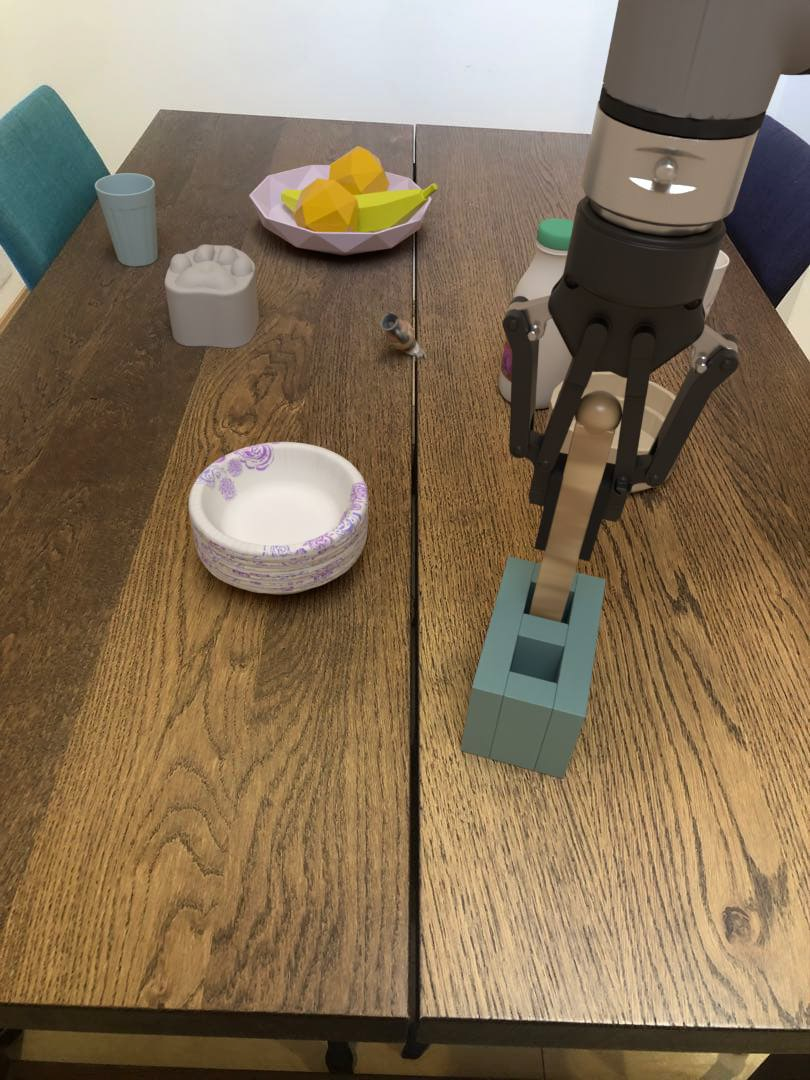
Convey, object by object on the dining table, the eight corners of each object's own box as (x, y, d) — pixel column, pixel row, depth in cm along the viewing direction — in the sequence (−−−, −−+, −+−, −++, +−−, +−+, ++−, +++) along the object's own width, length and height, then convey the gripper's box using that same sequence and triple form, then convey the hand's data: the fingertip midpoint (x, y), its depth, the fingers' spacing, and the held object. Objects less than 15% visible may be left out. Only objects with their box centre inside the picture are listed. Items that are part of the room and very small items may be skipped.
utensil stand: (585, 643, 69) (606, 578, 64) (563, 779, 60) (585, 717, 54) (495, 621, 71) (508, 555, 65) (460, 750, 61) (471, 687, 56)
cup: (147, 274, 113) (134, 198, 105) (99, 264, 114) (82, 188, 107) (175, 252, 118) (165, 178, 111) (129, 243, 119) (115, 169, 112)
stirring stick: (557, 636, 66) (628, 386, 50) (551, 662, 64) (624, 411, 48) (523, 627, 66) (583, 377, 50) (516, 653, 64) (577, 402, 48)
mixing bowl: (676, 431, 92) (691, 386, 88) (670, 510, 82) (687, 463, 78) (552, 406, 95) (561, 361, 91) (531, 479, 85) (541, 432, 81)
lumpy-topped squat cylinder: (166, 344, 100) (154, 278, 94) (187, 294, 109) (178, 230, 103) (251, 349, 100) (245, 283, 94) (265, 298, 110) (261, 235, 104)
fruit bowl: (219, 227, 125) (211, 149, 117) (357, 189, 139) (358, 117, 131) (332, 298, 111) (331, 215, 103) (473, 248, 124) (482, 171, 117)
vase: (390, 372, 98) (393, 328, 94) (367, 351, 101) (368, 307, 97) (427, 361, 100) (431, 317, 96) (403, 341, 104) (406, 297, 99)
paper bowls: (250, 485, 82) (244, 420, 76) (391, 529, 78) (395, 464, 73) (164, 587, 71) (150, 520, 66) (322, 643, 68) (321, 577, 62)
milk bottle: (570, 385, 98) (608, 220, 84) (551, 418, 93) (588, 248, 79) (510, 368, 100) (537, 204, 86) (488, 399, 95) (513, 230, 81)
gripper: (488, 208, 40) (444, 552, 56) (820, 263, 37) (673, 607, 53) (515, 158, 45) (468, 485, 61) (808, 203, 42) (678, 532, 59)
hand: (564, 541), depth 57 cm, fingers closed on stirring stick, 2 cm apart
